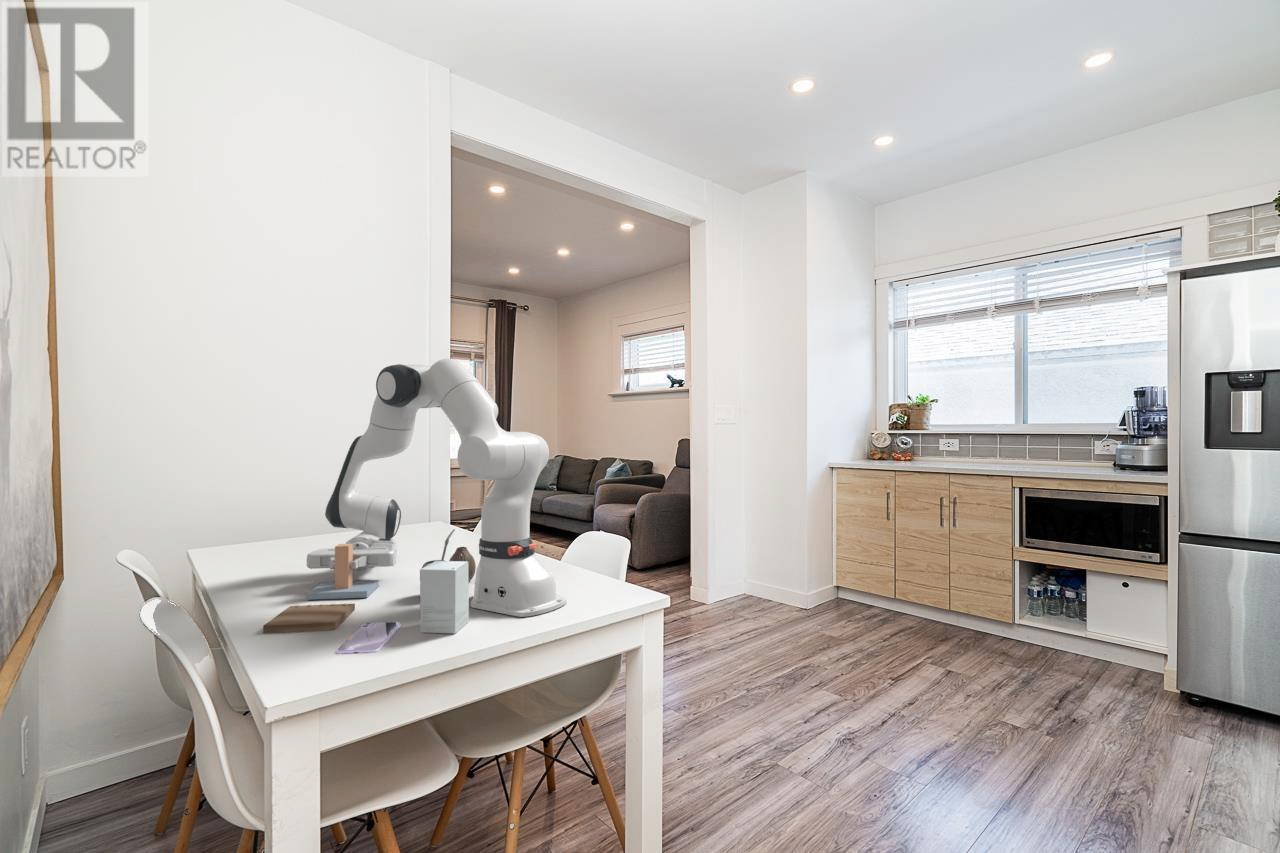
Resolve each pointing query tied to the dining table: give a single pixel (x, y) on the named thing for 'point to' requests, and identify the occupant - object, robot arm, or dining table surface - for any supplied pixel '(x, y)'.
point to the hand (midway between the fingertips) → (342, 565)
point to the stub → (343, 579)
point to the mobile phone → (369, 638)
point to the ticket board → (309, 618)
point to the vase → (464, 555)
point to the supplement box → (444, 596)
